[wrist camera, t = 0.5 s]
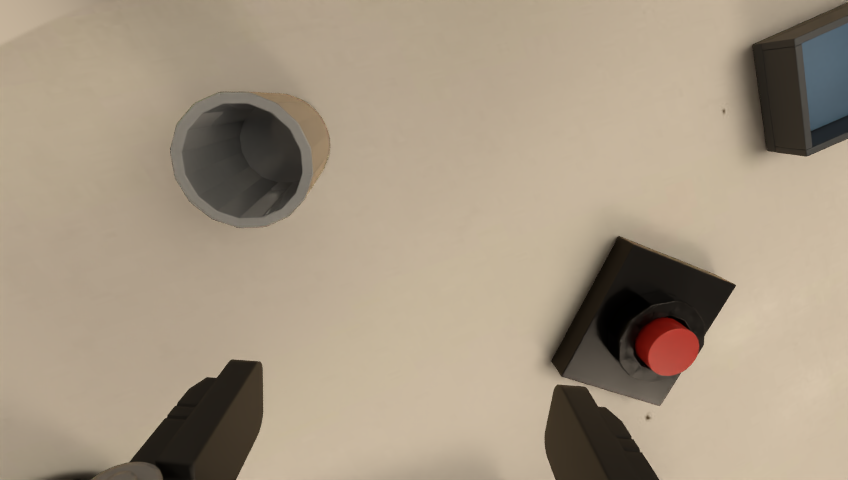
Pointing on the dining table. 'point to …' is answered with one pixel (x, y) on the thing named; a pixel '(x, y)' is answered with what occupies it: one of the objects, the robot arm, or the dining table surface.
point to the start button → (666, 346)
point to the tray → (805, 84)
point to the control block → (636, 318)
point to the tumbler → (249, 156)
